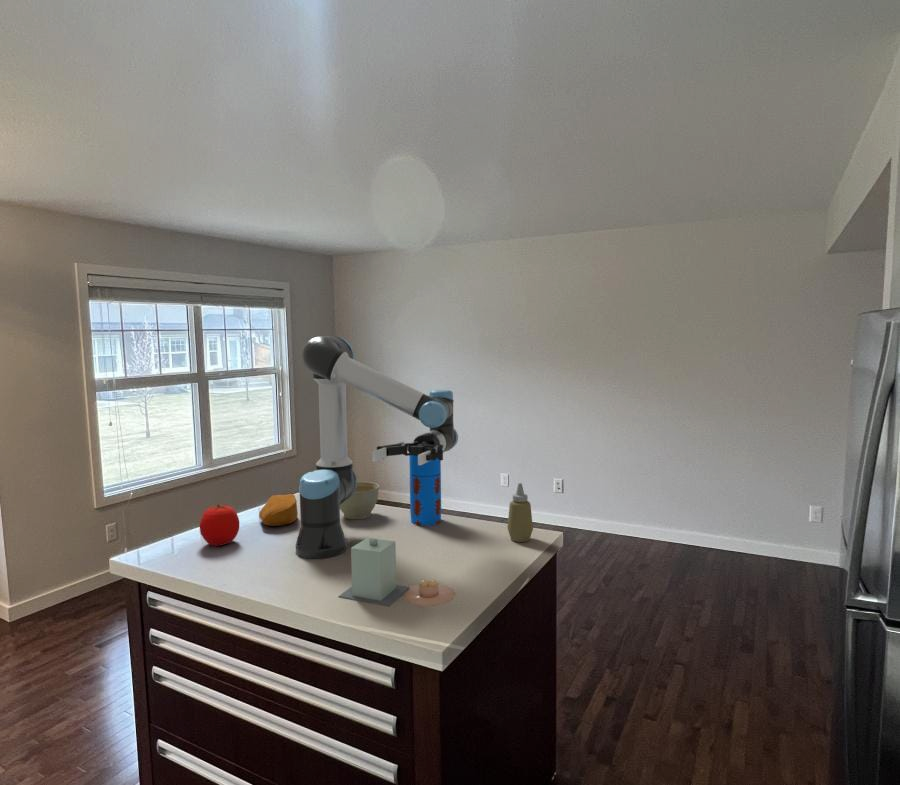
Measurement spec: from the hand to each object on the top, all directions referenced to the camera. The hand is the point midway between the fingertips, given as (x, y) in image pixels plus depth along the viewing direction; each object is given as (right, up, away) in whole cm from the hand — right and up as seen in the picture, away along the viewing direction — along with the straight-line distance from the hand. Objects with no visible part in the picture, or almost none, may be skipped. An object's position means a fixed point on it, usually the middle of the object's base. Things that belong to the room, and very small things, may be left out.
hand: (395, 458), depth 154 cm
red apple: (-58, -30, +29) cm, 72 cm away
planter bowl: (-19, -28, +57) cm, 67 cm away
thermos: (+6, -28, +50) cm, 58 cm away
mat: (-4, -33, -9) cm, 34 cm away
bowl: (+9, -33, -10) cm, 36 cm away
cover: (-4, -32, -9) cm, 34 cm away
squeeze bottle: (+37, -29, +30) cm, 56 cm away
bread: (-47, -29, +51) cm, 75 cm away
